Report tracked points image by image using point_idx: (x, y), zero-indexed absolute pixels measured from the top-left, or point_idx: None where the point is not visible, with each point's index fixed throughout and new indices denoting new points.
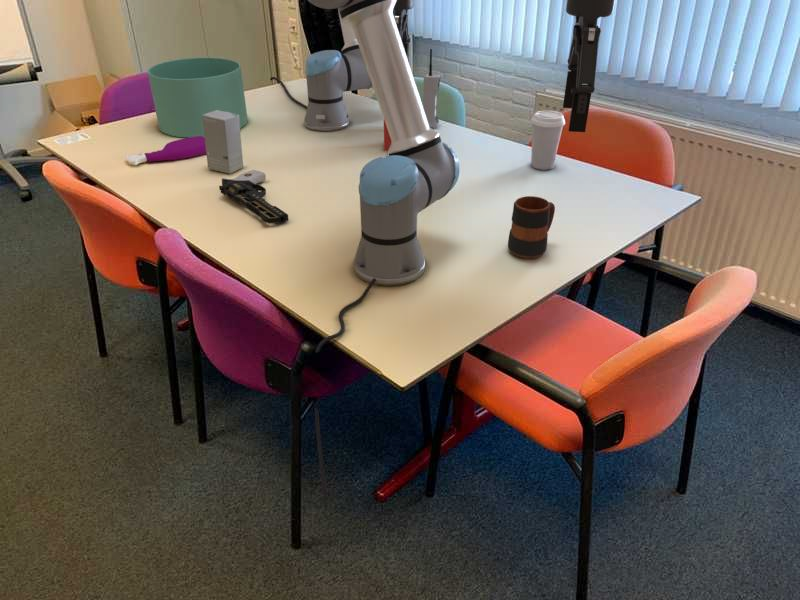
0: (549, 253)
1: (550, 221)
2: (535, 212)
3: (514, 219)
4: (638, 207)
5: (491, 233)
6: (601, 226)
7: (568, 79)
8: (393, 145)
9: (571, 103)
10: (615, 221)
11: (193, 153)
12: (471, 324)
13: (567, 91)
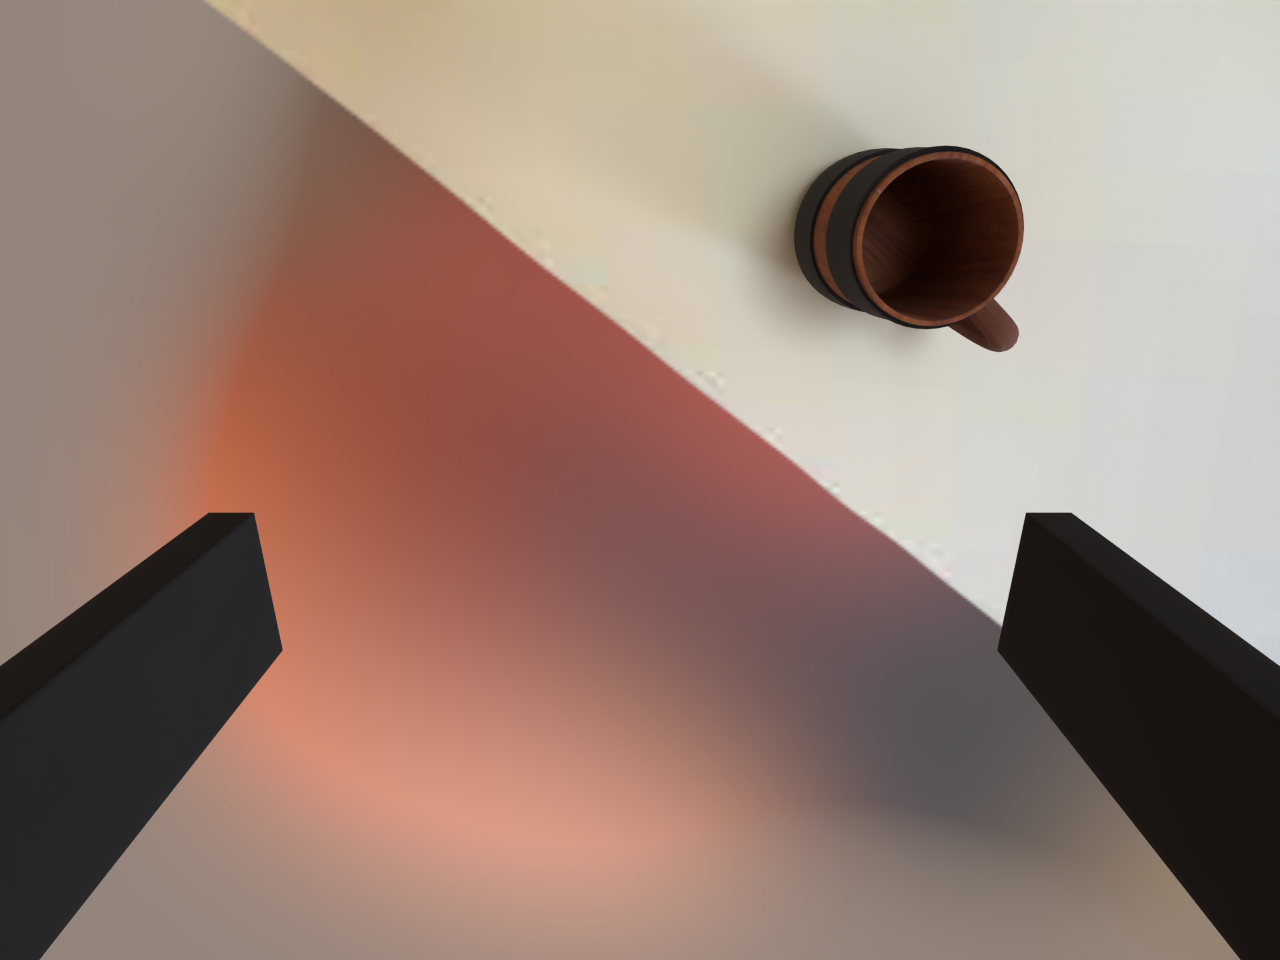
0: (850, 317)
1: (958, 329)
2: (853, 255)
3: (881, 158)
4: None
5: (1021, 77)
6: None
7: (1271, 744)
8: None
9: (1037, 614)
10: None
11: None
12: (322, 15)
13: (1136, 634)
